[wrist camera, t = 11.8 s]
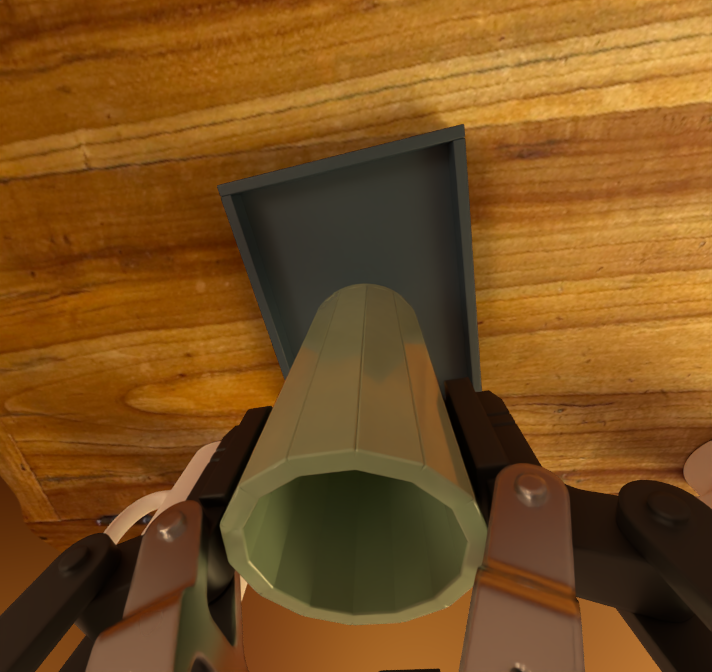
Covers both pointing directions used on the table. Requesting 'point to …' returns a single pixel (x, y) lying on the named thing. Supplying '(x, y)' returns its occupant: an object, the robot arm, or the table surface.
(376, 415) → the cup
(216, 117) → the table surface
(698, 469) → the mug
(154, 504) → the mug
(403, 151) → the tray
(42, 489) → the table surface
